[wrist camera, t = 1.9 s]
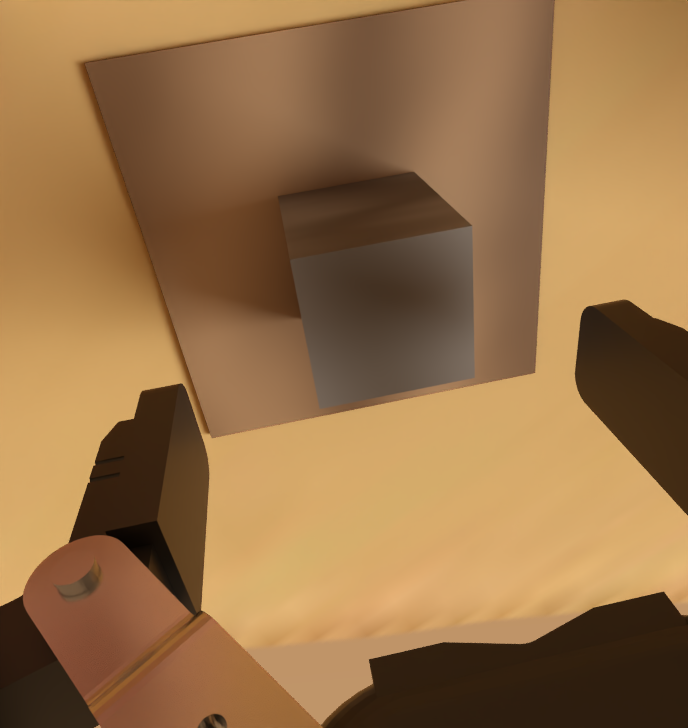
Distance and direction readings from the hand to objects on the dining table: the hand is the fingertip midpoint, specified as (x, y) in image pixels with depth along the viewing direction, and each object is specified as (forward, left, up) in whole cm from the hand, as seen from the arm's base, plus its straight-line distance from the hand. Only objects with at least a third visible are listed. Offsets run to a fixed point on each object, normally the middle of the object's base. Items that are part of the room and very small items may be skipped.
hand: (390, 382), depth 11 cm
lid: (-1, 0, -8) cm, 8 cm away
